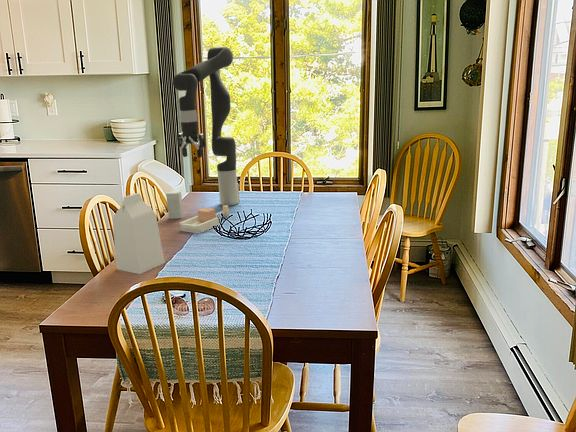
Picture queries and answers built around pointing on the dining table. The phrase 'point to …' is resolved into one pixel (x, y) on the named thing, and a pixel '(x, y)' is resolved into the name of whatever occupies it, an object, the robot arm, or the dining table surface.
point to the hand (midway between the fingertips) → (192, 157)
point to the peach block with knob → (211, 213)
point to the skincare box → (174, 204)
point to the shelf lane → (198, 225)
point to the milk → (136, 236)
